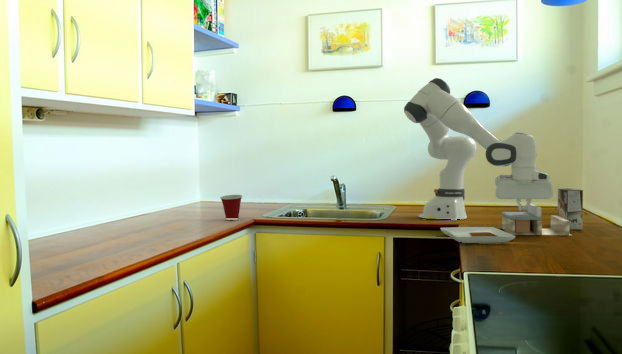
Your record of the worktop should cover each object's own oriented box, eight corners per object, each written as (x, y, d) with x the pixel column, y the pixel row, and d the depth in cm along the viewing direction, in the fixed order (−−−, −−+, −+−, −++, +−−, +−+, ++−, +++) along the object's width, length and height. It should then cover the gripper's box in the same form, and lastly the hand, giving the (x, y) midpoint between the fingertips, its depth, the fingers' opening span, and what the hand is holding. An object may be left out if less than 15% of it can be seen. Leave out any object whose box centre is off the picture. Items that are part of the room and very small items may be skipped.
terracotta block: (516, 232, 185) (516, 219, 185) (512, 230, 190) (512, 217, 189) (529, 232, 184) (530, 219, 184) (526, 230, 189) (526, 217, 189)
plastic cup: (216, 220, 235) (215, 196, 234) (229, 217, 244) (229, 194, 244) (234, 222, 230) (233, 197, 229) (247, 219, 239) (246, 195, 238)
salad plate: (492, 234, 189) (492, 225, 189) (516, 245, 168) (517, 235, 168) (439, 235, 189) (439, 226, 188) (456, 246, 167) (456, 236, 167)
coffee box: (583, 229, 194) (584, 190, 193) (567, 229, 195) (567, 190, 194) (571, 226, 204) (572, 188, 203) (556, 226, 204) (556, 188, 203)
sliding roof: (510, 219, 181) (511, 207, 180) (501, 214, 195) (502, 203, 195) (542, 219, 179) (542, 207, 179) (530, 214, 193) (530, 203, 193)
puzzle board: (510, 237, 181) (510, 220, 181) (501, 230, 195) (501, 215, 195) (572, 237, 178) (572, 220, 177) (558, 231, 192) (558, 215, 191)
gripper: (497, 175, 184) (496, 211, 185) (554, 175, 181) (554, 211, 181) (493, 174, 190) (493, 209, 191) (549, 174, 187) (548, 209, 188)
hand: (523, 210), depth 186 cm, fingers closed
